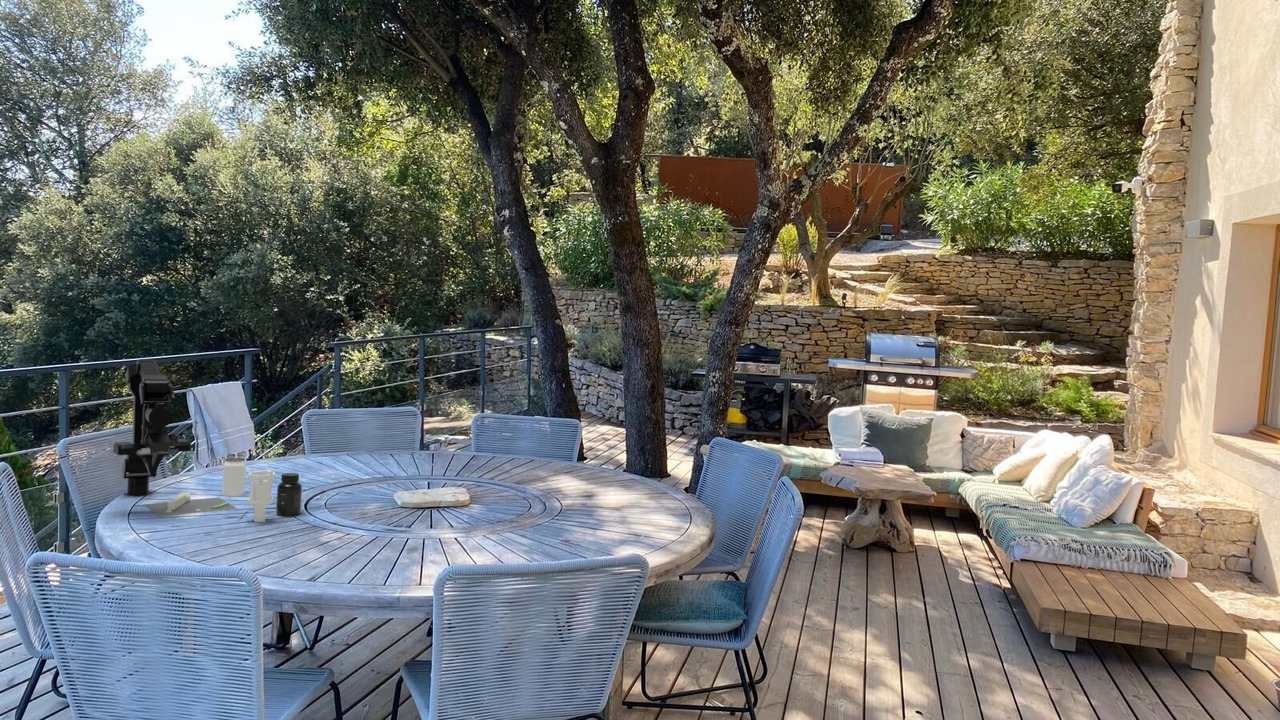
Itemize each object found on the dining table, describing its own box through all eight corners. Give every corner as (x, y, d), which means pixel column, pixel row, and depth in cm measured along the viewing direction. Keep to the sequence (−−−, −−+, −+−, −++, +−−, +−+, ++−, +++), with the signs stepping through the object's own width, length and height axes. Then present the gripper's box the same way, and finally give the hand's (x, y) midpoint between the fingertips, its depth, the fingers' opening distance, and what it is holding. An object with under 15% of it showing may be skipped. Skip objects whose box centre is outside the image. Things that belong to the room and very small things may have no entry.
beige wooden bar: (180, 500, 258) (180, 492, 258) (191, 500, 259) (191, 492, 258) (164, 510, 246) (164, 501, 245) (176, 510, 246) (176, 502, 246)
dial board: (142, 507, 251) (143, 502, 251) (218, 500, 266) (218, 495, 265) (159, 519, 239) (159, 514, 239) (237, 511, 254) (237, 506, 254)
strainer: (259, 525, 242) (262, 472, 241) (240, 521, 244) (242, 469, 243) (278, 520, 248) (280, 469, 247) (259, 516, 251) (261, 466, 250)
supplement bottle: (270, 514, 254) (272, 474, 253) (287, 509, 260) (289, 471, 260) (288, 517, 252) (290, 477, 251) (305, 513, 258) (307, 474, 257)
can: (235, 500, 268) (237, 462, 267) (217, 497, 269) (219, 460, 268) (248, 495, 274) (250, 459, 273) (231, 493, 275) (232, 456, 275)
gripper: (124, 428, 230) (122, 485, 231) (198, 425, 243) (196, 479, 244) (113, 422, 238) (111, 477, 239) (186, 419, 251) (183, 472, 252)
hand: (151, 476), depth 243 cm, fingers closed
